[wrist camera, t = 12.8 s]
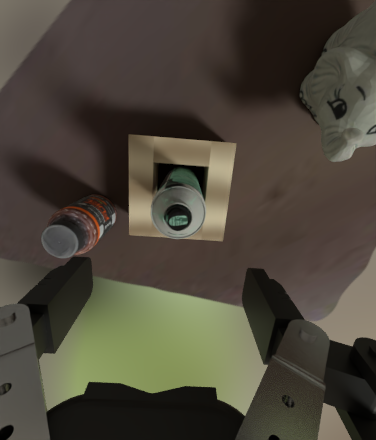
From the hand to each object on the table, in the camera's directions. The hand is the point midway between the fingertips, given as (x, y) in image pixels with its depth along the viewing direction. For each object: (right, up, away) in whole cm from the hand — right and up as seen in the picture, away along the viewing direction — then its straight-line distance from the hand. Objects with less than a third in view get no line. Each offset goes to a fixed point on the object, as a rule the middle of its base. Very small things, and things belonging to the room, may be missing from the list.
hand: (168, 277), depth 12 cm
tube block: (0, +9, +27) cm, 28 cm away
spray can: (0, +9, +27) cm, 28 cm away
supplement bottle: (-15, +4, +28) cm, 32 cm away
